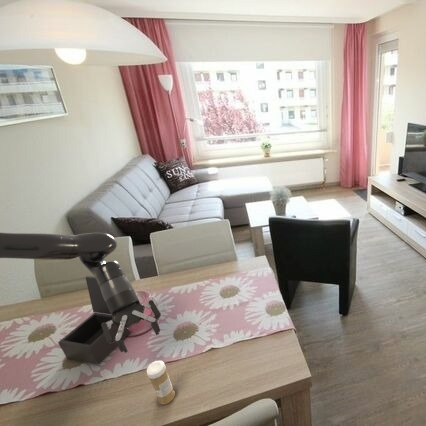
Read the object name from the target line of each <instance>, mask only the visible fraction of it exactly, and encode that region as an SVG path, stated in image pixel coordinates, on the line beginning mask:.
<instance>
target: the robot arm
mask: <svg viewBox="0 0 426 426" xmlns="http://www.w3.org/2000/svg"><path fill="white" fill-rule="evenodd" d="M117 247H118V242H117V240H116V238H115V237H114V236H112V235H111V234H108V233H105V232H88V233H80V234H72V235H71V234H61V233H47V232H46V233H45V232H39V233H37V232H32V233H30V232H27V233H26V232H0V259H21V260H42V261H43V260H45V261H46V260H47V261H61V260H62V261H67V260H68V261H69V260H74V259H77V258H78V260H79V261H80V262H81V264H83V266H84V267H85V268H86V269H87V270H88V271H89V272H90V273H91V274H92V275H93V277H95V278H96V280H97V282H98V284H99V286H100V289H101V293H102V295H103V298H104V300H105V302H106V304H107V306H108V308H109V310H110V313H111V314H110V315H112V320H111V321H108V322H106V323H105V322H103V323H102V324H101V326H102V329H103V332H104V334H105V337H106V340H107V342H108V343H109V344H110V343H114V342H116V343H117V344H118V345H117V346H118V349H119V351H120V352H121V353H123V352H124V354H125V353H128V349H127V346H126V345H125V343H124V339H123V340H122V339H121V337H122V334H123V331H124V328H129V329H130V328H131V327H132V326H134V325H136V324H139V323H140V322H141V321H144V322H147V323H150V325H151V328H152V330H153V332H154V334H155V336H159V335H160V332H161V328H160V326H159V324H158V322H157V321H158V320H159V319H160V318H161V316H162V314H161V312H160V310H159V309H158V307H157V305H156V304H155V302H154V300H153V299H150V300H148V301H147V302H146V303H144V304H142V303H141V302H140V299H139V297H138V295H137V293H136V291H135V289H134V287H133V285H132V283H131V281H130V280H129V278H128V277H127V275H126V273H125V271H124V269H123V267H122V265H121V264H120V263H119V262H118V261H117V260H111V261H106V260H105V258H107V257H108V256H109V255H111V254H112V253H113V252H114V251H115V250H116V249H117ZM145 309H147V310H151V312H152V313H153V315H154V316H150V315H149V314H146V313H144V312H145ZM113 323H114V324H116V325H118V326H119V329H118V332H117V335H116V337H113V338H112V337H111V335H110V332H109V329H111V325H112V324H113Z"/></svg>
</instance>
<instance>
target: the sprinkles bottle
mask: <svg viewBox="0 0 426 426" xmlns="http://www.w3.org/2000/svg"><path fill="white" fill-rule="evenodd" d="M146 374H147V377H148V378H149V380H150V383H151V385H152V388H153V390H154V393H155V396H156V398H157V401H158V403H159V404H160V405H167V404H169V403H171V402H172V401H173V399H174V398H175V396H176V391H175V390H174V388H173V385H172V381H171V379H170V376H169V373H168V371H167V368H166V364H165V362H164V361H163V360H155V361H152V362H151V363H150V364H149V365H148V367H147V368H146Z"/></svg>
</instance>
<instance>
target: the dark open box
mask: <svg viewBox="0 0 426 426" xmlns="http://www.w3.org/2000/svg"><path fill="white" fill-rule="evenodd" d="M111 320H112V315H111V314H103V313H96V312H92V314H91V315H90V316H88V317H87V318H86V319H84V320H83V321H82V322H81V323H80V324H78V325H77V326H76V327H75V328H74V329H72V330H71V331H70V332H69V333H67V334H66V335H65V336H64V337H62V338H61V339H60V340H59V341H58V342H57V343H58V345H59V347H60V349H61V350H62V352H63V354H64V356H65V358H66V359H67V360H71V361H77V362H81V363H83V362H84V363H87V364H93V365H100V364H101V363H102V362H103V360H104V359H105V358H107V356H109V355H110V353H112V352H113V351H114V349H116V348H117V346H118V344H117V343H116V342H114V343H110V344H109V343H108V342H107V340H106V337H105V334H104V332H103V329H102V326H101V324H102V323H103V322H105V323H106V322H108V321H111ZM118 329H119V326H118V325H116V324H114V323H113V324H112V325H111V329H109V332H110V335H111V337H112V338H113V337H116V335H117V332H118ZM129 334H131V331H130V330H129V331H128V329H127V328H124V331H123V334H122V337H121V339H122V340H123V341H124V339H126V338H127V336H129Z"/></svg>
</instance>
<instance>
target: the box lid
mask: <svg viewBox="0 0 426 426" xmlns="http://www.w3.org/2000/svg"><path fill="white" fill-rule="evenodd" d="M85 282H86V286H87V290H88V295H89V299H90V304H91V308H92V313H101V314H108V315H111V313H110V310H109V308H108V306H107V304H106V302H105V300H104V298H103V295H102V293H101V289H100V286H99V284H98V282H97V280H96V278H95V276H88V275H87V276H85Z"/></svg>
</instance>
